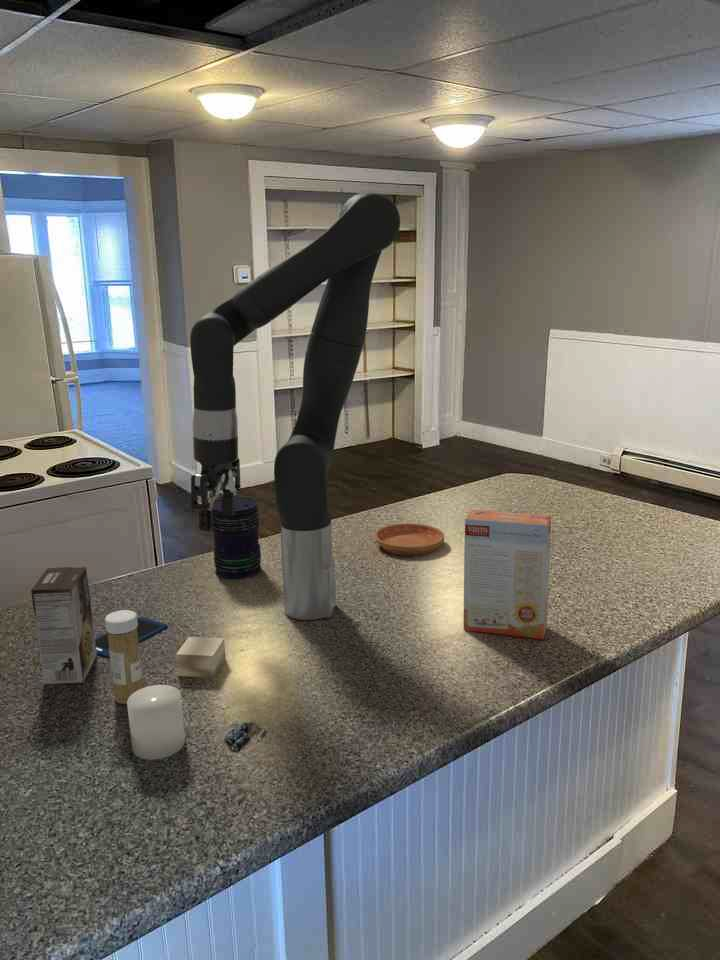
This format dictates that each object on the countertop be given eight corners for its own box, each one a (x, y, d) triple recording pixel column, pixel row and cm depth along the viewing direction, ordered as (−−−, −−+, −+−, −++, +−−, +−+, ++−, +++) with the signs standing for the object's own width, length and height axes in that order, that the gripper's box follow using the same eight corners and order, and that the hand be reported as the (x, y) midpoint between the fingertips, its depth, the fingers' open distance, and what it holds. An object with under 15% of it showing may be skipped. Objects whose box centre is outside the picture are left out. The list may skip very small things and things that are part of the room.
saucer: (456, 541, 182) (456, 529, 182) (423, 563, 170) (423, 550, 169) (396, 530, 191) (396, 519, 190) (361, 550, 178) (361, 538, 177)
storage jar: (205, 576, 164) (200, 508, 160) (230, 560, 173) (225, 495, 169) (247, 582, 160) (242, 513, 157) (270, 565, 169) (266, 499, 165)
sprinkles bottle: (149, 699, 118) (141, 617, 114) (119, 708, 115) (109, 625, 112) (139, 686, 121) (131, 606, 118) (109, 695, 119) (100, 613, 115)
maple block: (225, 660, 129) (224, 638, 128) (214, 678, 124) (212, 655, 123) (190, 658, 130) (188, 636, 129) (178, 676, 124) (176, 654, 123)
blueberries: (268, 726, 111) (268, 714, 111) (263, 760, 103) (263, 748, 103) (220, 727, 111) (219, 716, 110) (212, 762, 103) (211, 750, 103)
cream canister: (192, 731, 109) (188, 686, 108) (174, 761, 103) (169, 714, 101) (144, 727, 110) (139, 683, 109) (123, 757, 104) (118, 711, 102)
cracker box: (547, 626, 139) (552, 514, 133) (543, 641, 133) (549, 525, 128) (469, 616, 143) (471, 507, 138) (462, 630, 138) (464, 517, 132)
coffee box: (58, 657, 131) (46, 567, 127) (98, 655, 131) (87, 565, 127) (42, 685, 122) (28, 589, 118) (84, 683, 123) (72, 587, 118)
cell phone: (79, 650, 134) (79, 646, 134) (141, 619, 145) (141, 615, 145) (108, 660, 130) (108, 656, 130) (170, 628, 142) (169, 624, 141)
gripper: (216, 444, 126) (218, 538, 131) (252, 427, 140) (253, 513, 144) (175, 440, 128) (178, 533, 133) (214, 423, 142) (216, 508, 146)
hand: (217, 522), depth 139 cm, fingers open, 8 cm apart
